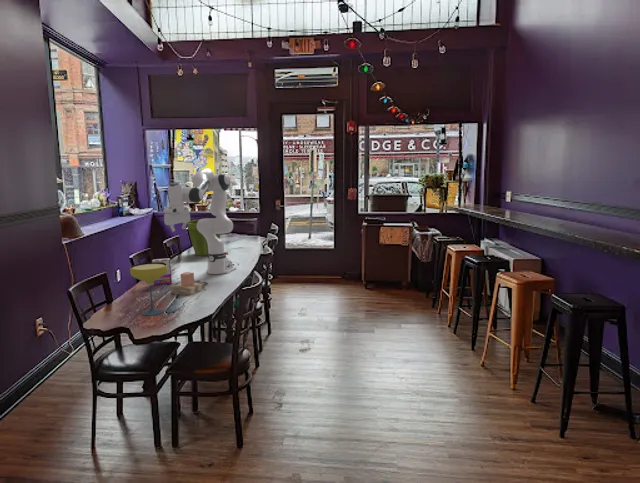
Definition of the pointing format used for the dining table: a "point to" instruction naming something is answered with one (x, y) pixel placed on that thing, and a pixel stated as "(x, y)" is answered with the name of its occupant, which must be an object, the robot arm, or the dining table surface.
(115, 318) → the dining table surface
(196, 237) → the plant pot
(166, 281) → the candy bar box
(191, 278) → the block
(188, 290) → the plinth
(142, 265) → the cocktail glass
